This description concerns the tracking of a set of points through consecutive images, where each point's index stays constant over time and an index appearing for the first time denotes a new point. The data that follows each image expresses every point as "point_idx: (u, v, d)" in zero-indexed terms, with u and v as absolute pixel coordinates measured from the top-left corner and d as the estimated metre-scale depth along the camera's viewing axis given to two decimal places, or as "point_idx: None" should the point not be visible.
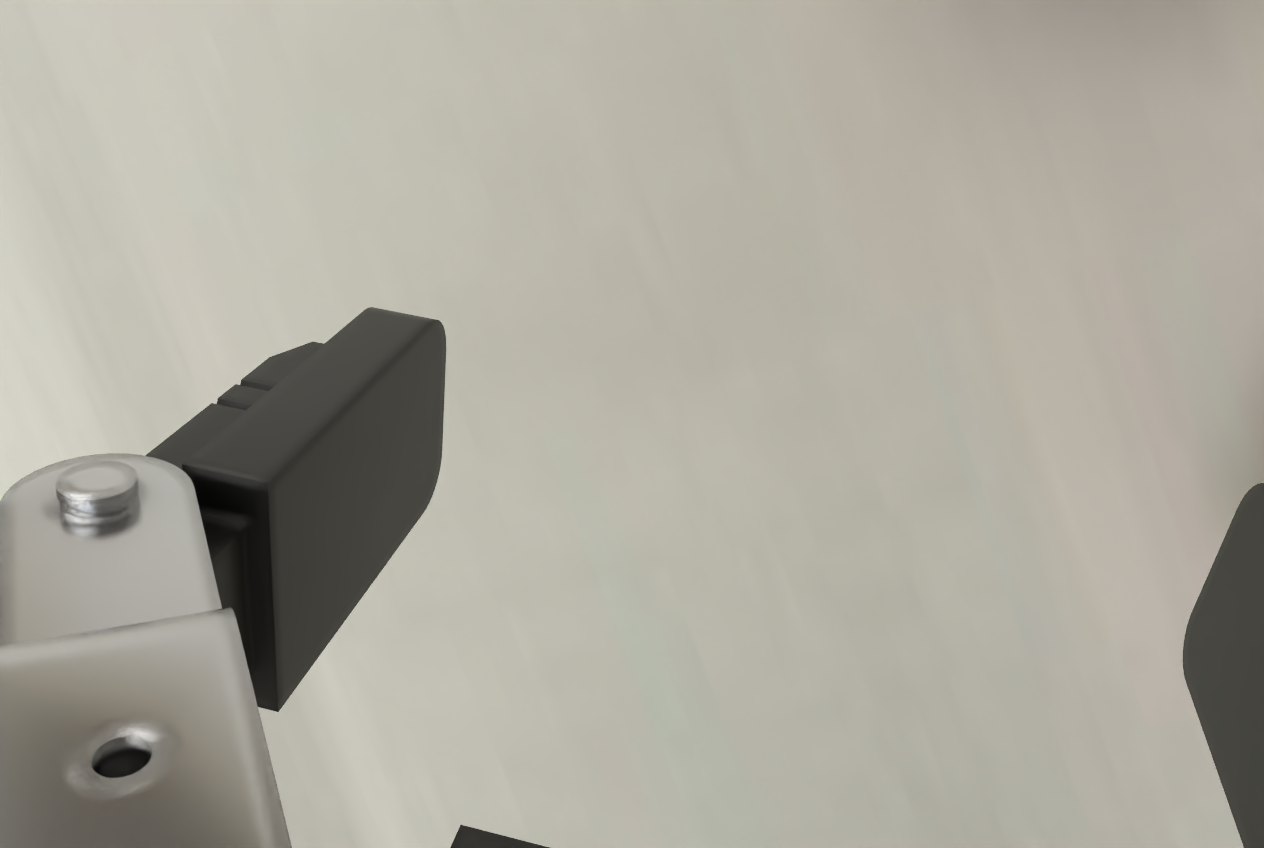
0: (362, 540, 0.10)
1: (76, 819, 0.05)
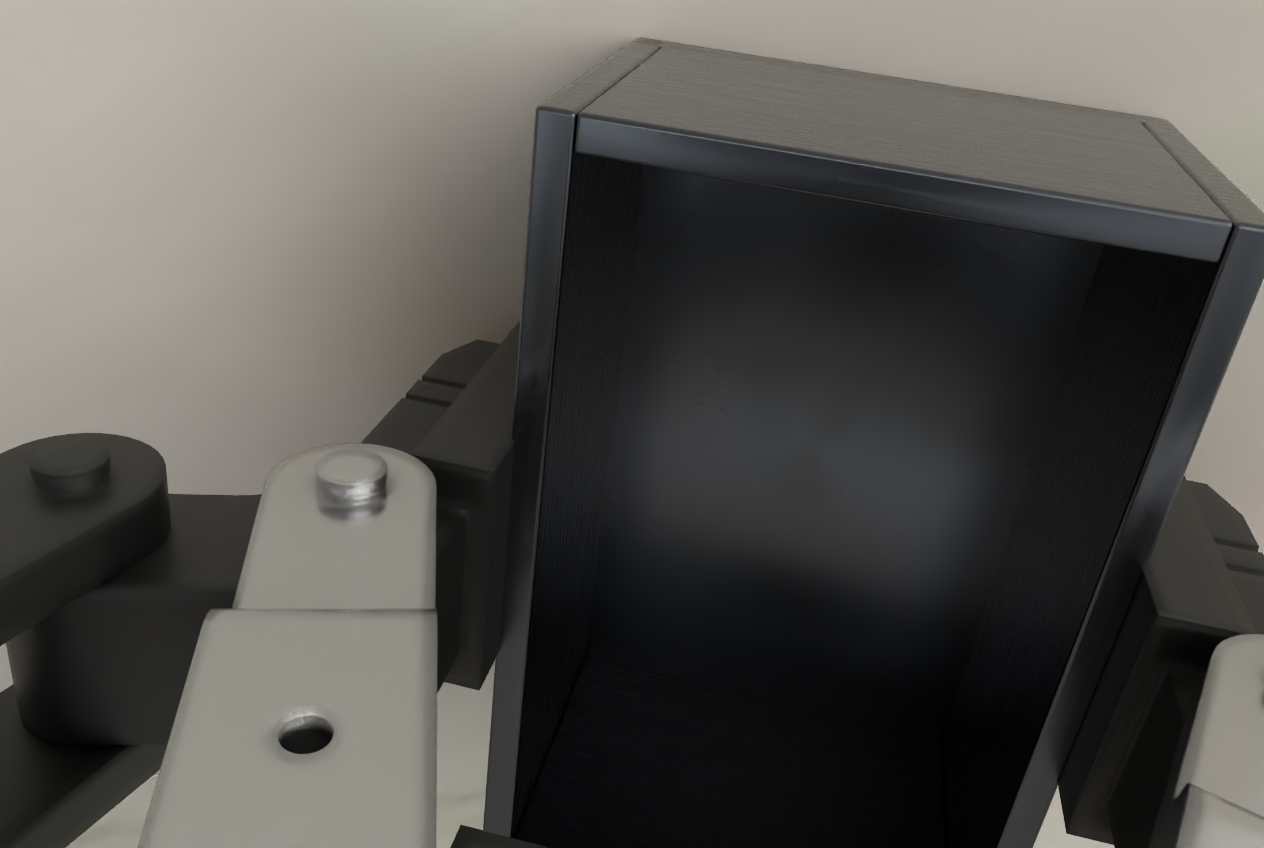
0: None
1: (252, 785, 0.05)
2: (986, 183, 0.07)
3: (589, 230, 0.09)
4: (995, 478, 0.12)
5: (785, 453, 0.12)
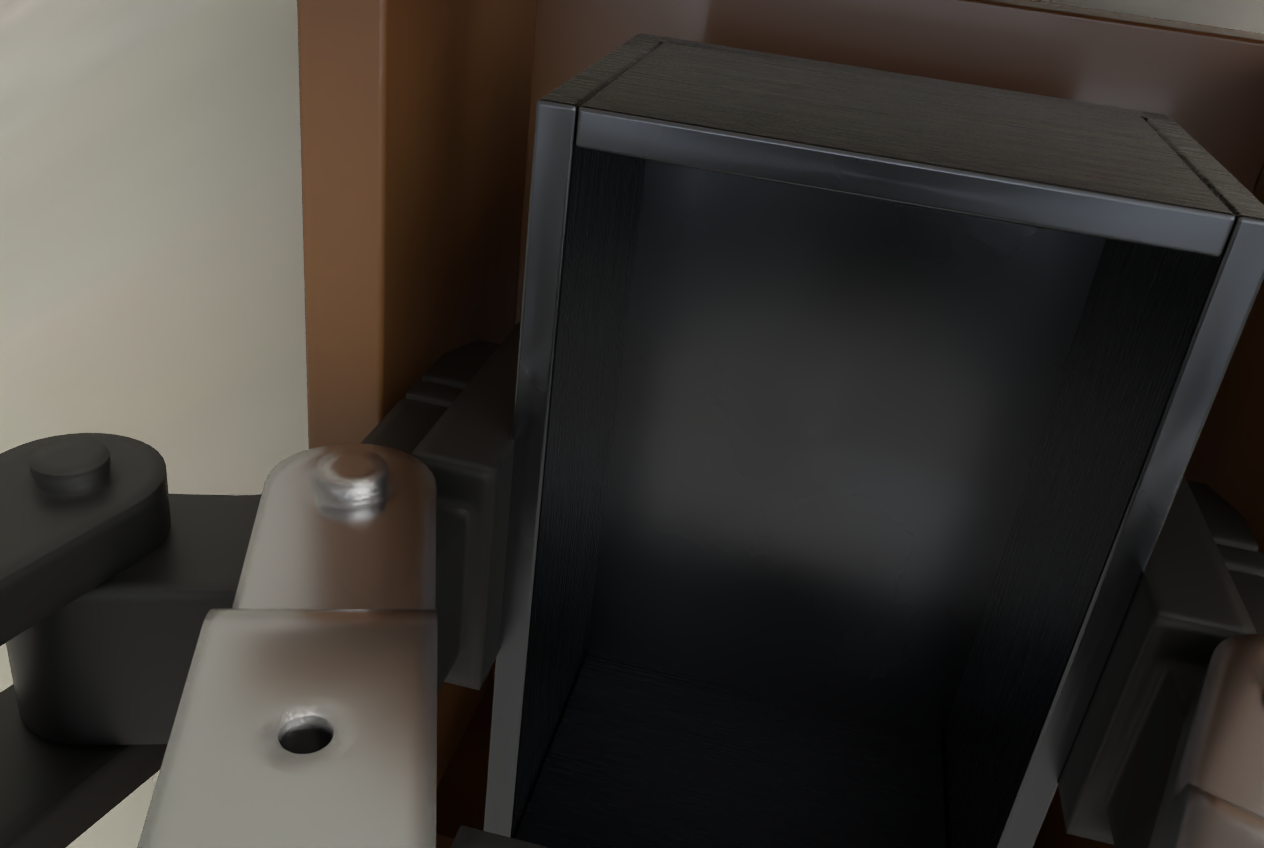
0: None
1: (252, 785, 0.05)
2: (988, 177, 0.07)
3: (590, 225, 0.09)
4: (995, 474, 0.12)
5: (786, 449, 0.12)
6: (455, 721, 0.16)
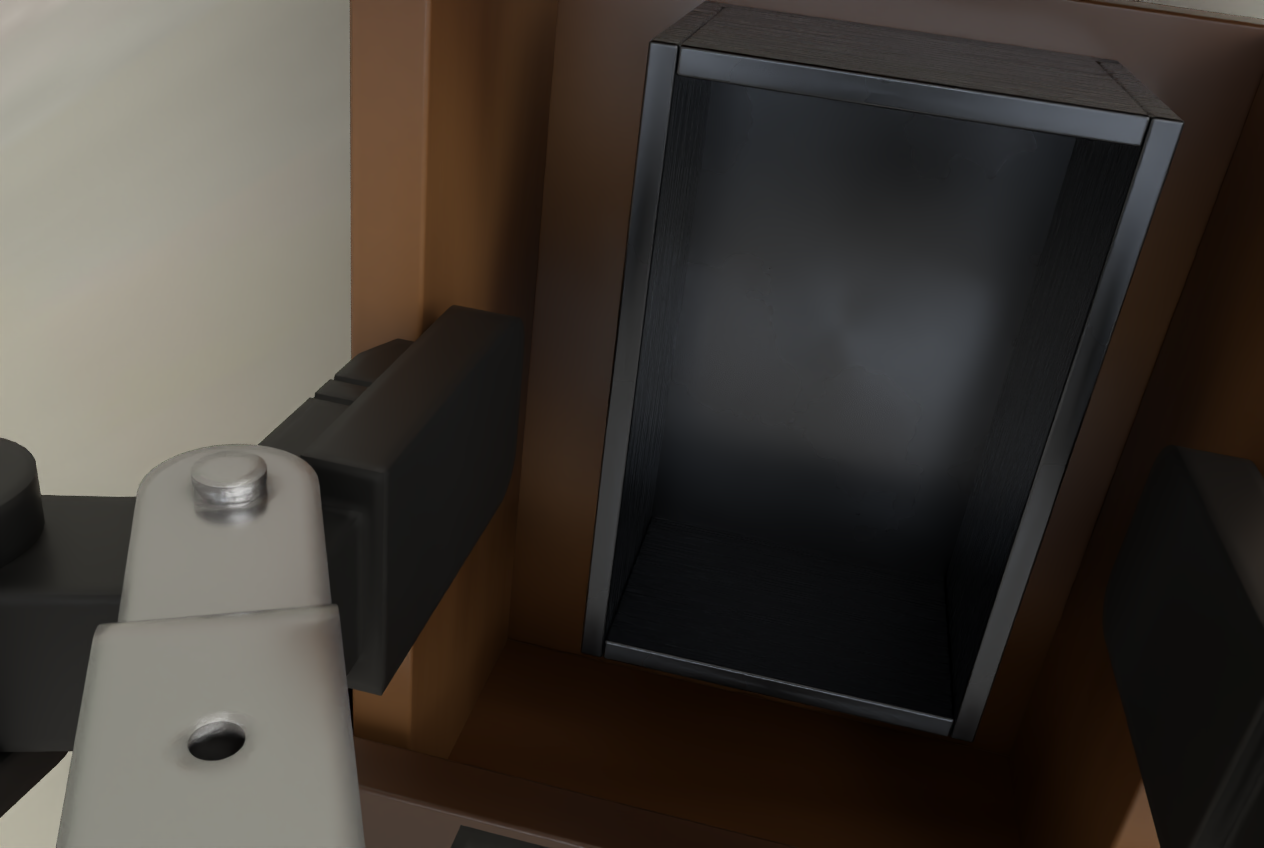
0: (452, 530, 0.11)
1: (166, 797, 0.05)
2: (975, 91, 0.10)
3: (678, 140, 0.12)
4: (986, 353, 0.15)
5: (818, 337, 0.15)
6: (477, 671, 0.17)
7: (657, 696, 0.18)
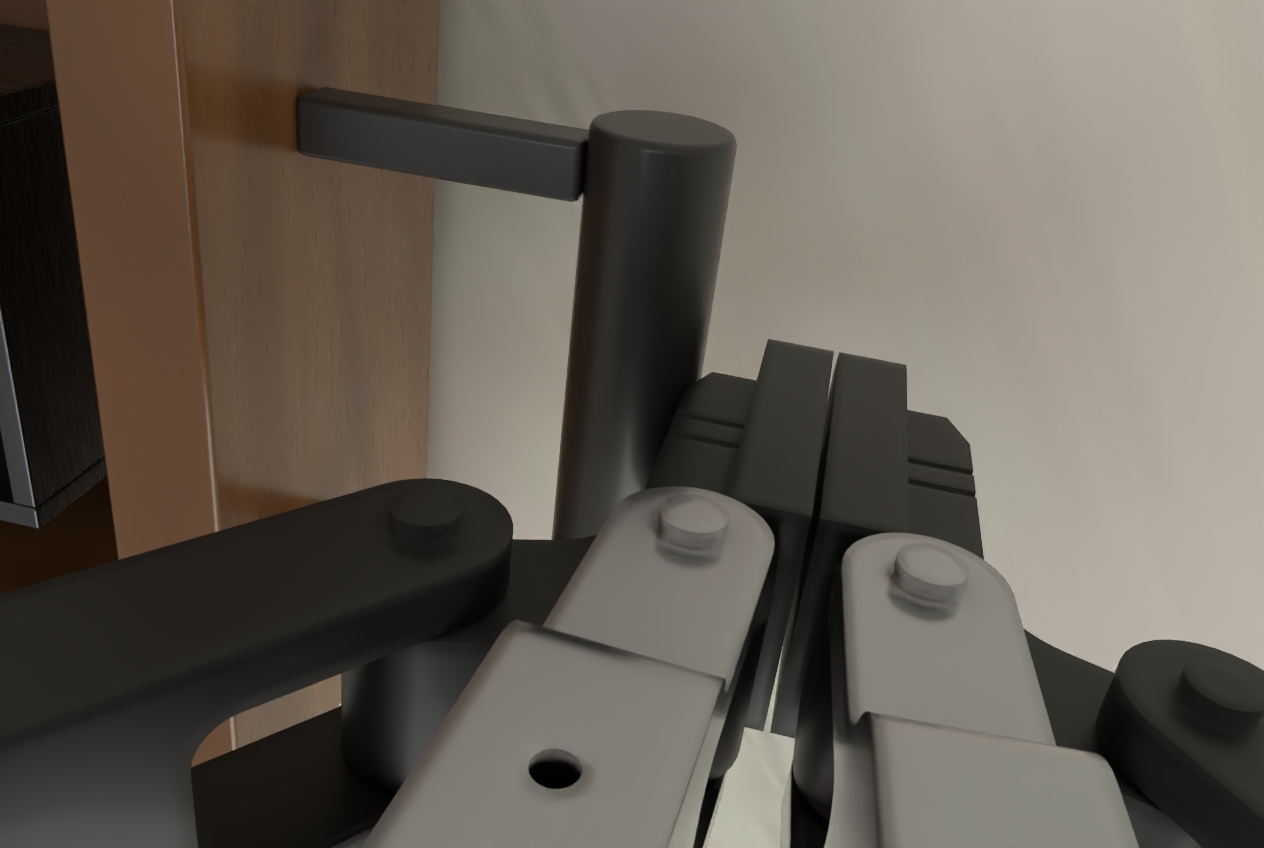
0: None
1: (490, 803, 0.05)
2: (14, 387, 0.12)
3: None
4: None
5: None
6: None
7: None
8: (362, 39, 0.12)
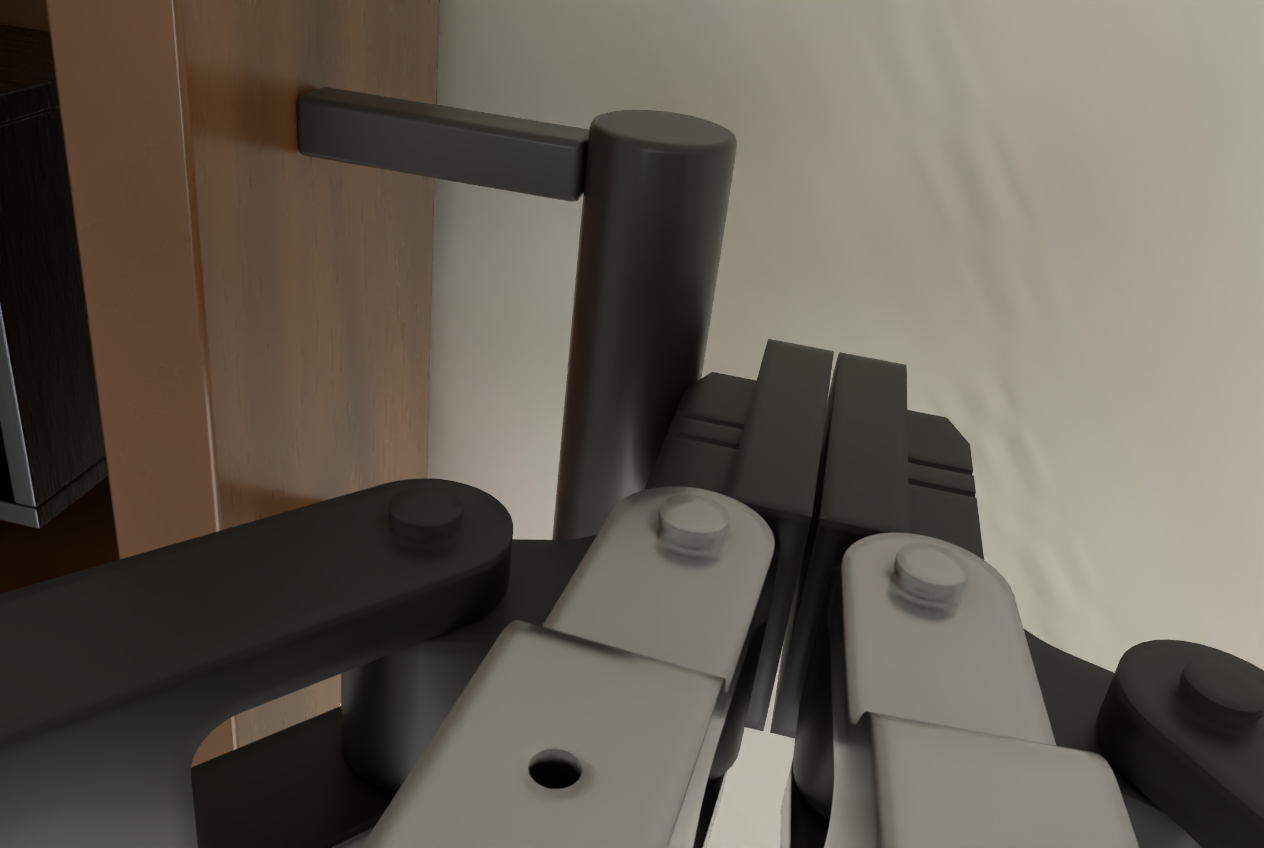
0: None
1: (490, 803, 0.05)
2: (15, 387, 0.12)
3: None
4: None
5: None
6: None
7: None
8: (361, 39, 0.12)
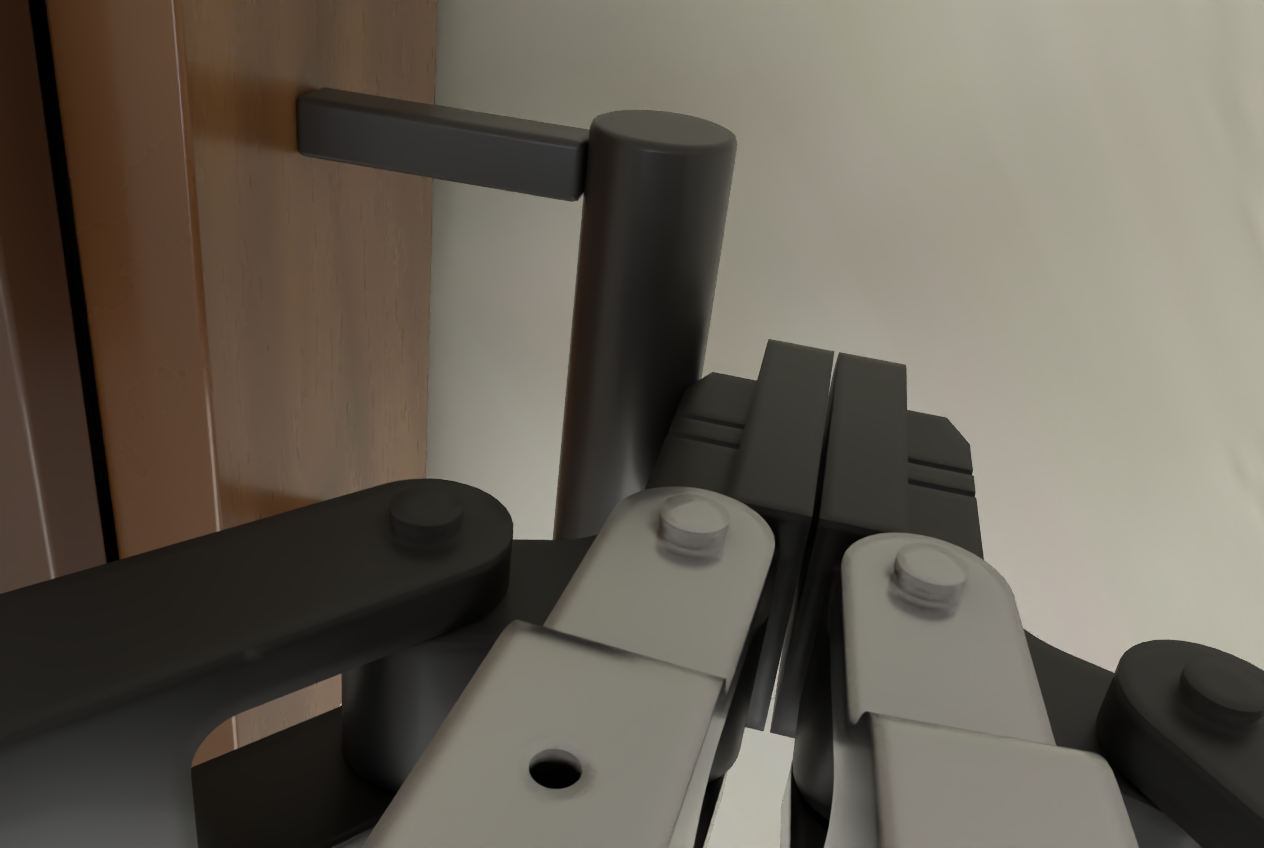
0: None
1: (491, 803, 0.05)
2: None
3: None
4: None
5: None
6: None
7: None
8: (360, 39, 0.12)
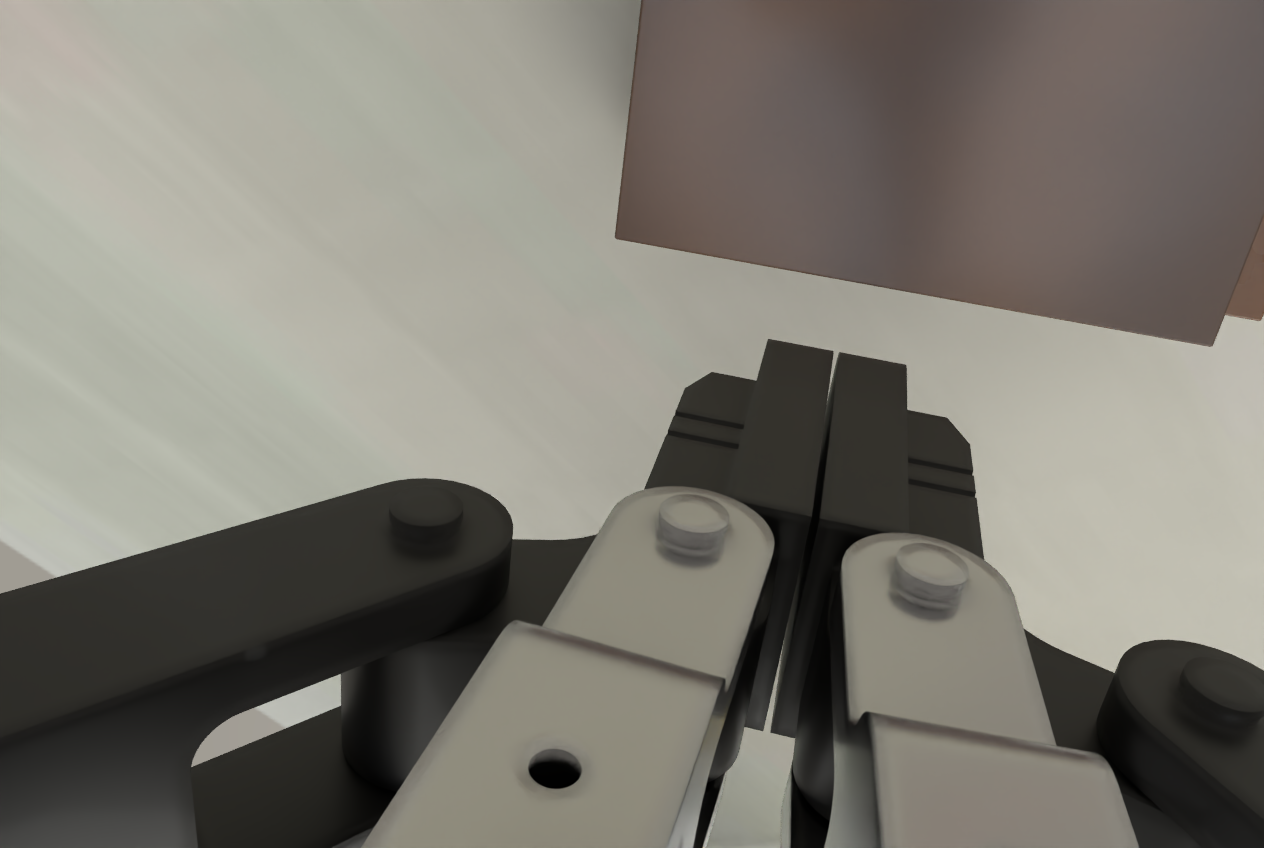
0: None
1: (490, 803, 0.05)
2: None
3: None
4: None
5: None
6: None
7: None
8: None
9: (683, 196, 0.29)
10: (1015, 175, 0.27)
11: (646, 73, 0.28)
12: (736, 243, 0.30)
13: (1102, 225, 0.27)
